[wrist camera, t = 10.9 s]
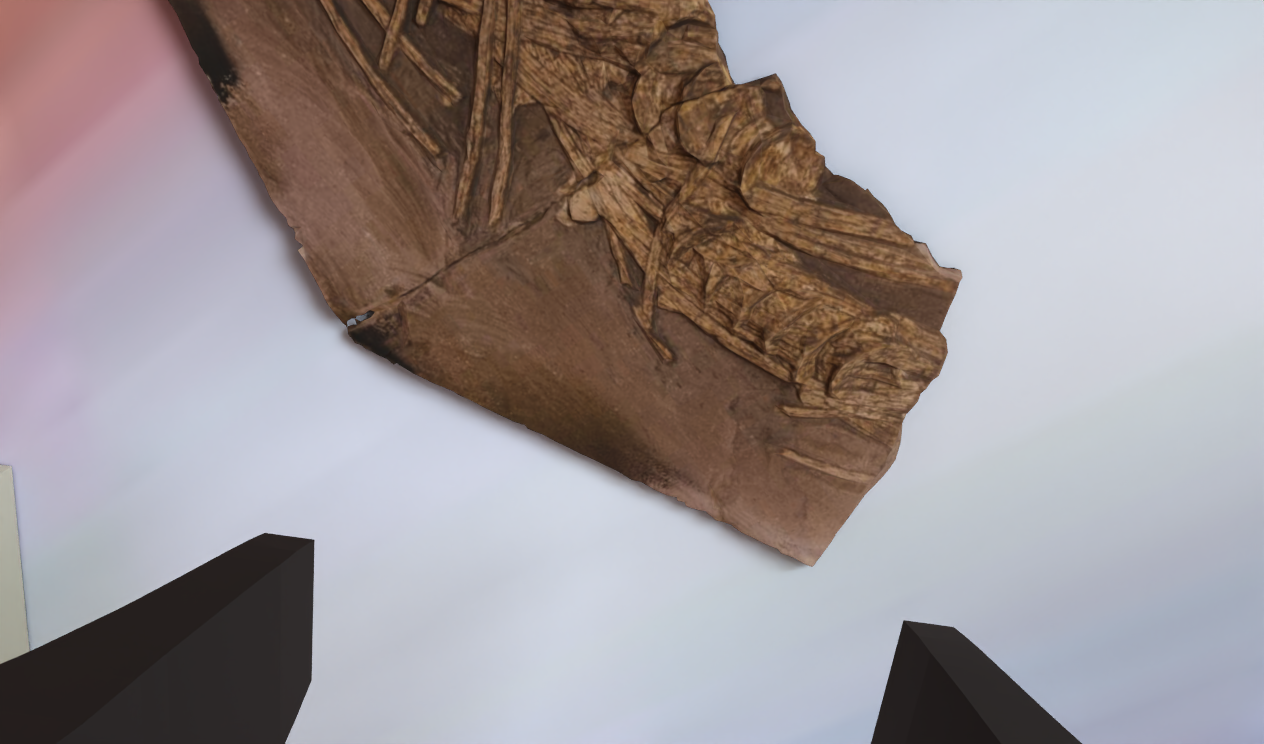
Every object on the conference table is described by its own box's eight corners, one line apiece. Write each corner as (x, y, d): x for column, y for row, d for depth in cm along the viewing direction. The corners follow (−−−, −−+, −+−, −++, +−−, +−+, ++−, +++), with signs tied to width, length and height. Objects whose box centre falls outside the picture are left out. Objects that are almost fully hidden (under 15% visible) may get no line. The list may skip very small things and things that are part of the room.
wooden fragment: (1047, 417, 20) (1066, 437, 19) (637, 657, 23) (635, 685, 22) (220, -874, 14) (185, -943, 13) (-213, -351, 17) (-269, -375, 16)
